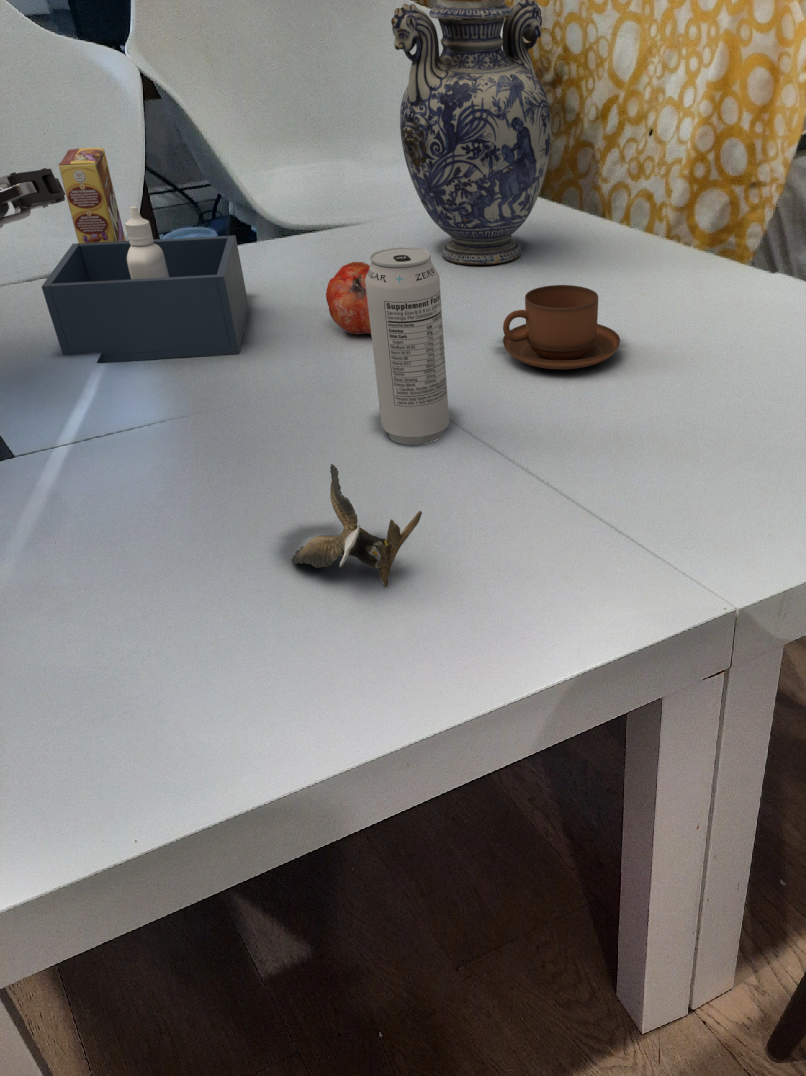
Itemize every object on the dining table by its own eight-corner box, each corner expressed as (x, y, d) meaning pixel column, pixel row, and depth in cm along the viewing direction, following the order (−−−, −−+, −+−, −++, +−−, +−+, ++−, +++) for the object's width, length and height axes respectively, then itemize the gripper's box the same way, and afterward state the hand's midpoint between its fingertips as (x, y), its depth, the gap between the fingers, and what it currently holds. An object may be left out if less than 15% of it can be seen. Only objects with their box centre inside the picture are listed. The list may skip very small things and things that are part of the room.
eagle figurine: (440, 538, 73) (348, 486, 76) (409, 490, 67) (309, 434, 70) (379, 623, 72) (288, 566, 75) (342, 581, 66) (243, 521, 69)
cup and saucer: (554, 389, 98) (554, 325, 94) (480, 355, 105) (477, 294, 101) (643, 360, 104) (646, 298, 100) (567, 329, 111) (568, 270, 107)
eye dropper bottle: (195, 322, 111) (168, 203, 104) (158, 338, 108) (128, 216, 100) (165, 316, 113) (137, 199, 105) (128, 332, 109) (96, 211, 101)
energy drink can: (439, 415, 93) (425, 242, 84) (458, 441, 89) (447, 261, 79) (375, 425, 92) (354, 250, 82) (392, 452, 87) (372, 270, 78)
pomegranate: (335, 343, 115) (307, 311, 105) (346, 278, 114) (320, 240, 104) (398, 354, 114) (376, 323, 104) (410, 289, 114) (389, 252, 104)
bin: (65, 365, 104) (41, 286, 99) (93, 316, 116) (72, 243, 111) (239, 354, 106) (223, 276, 101) (249, 306, 118) (235, 235, 113)
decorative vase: (501, 226, 144) (494, -15, 126) (587, 254, 133) (592, -6, 115) (375, 255, 134) (347, -4, 116) (457, 287, 123) (440, 7, 105)
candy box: (134, 308, 118) (95, 162, 108) (95, 311, 117) (53, 164, 107) (139, 285, 124) (104, 145, 115) (103, 288, 124) (64, 148, 114)
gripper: (-38, 141, 79) (62, 134, 92) (-183, 199, 82) (-65, 184, 96) (14, 242, 82) (103, 221, 96) (-127, 294, 85) (-21, 267, 99)
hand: (19, 203), depth 96 cm, fingers open, 8 cm apart
